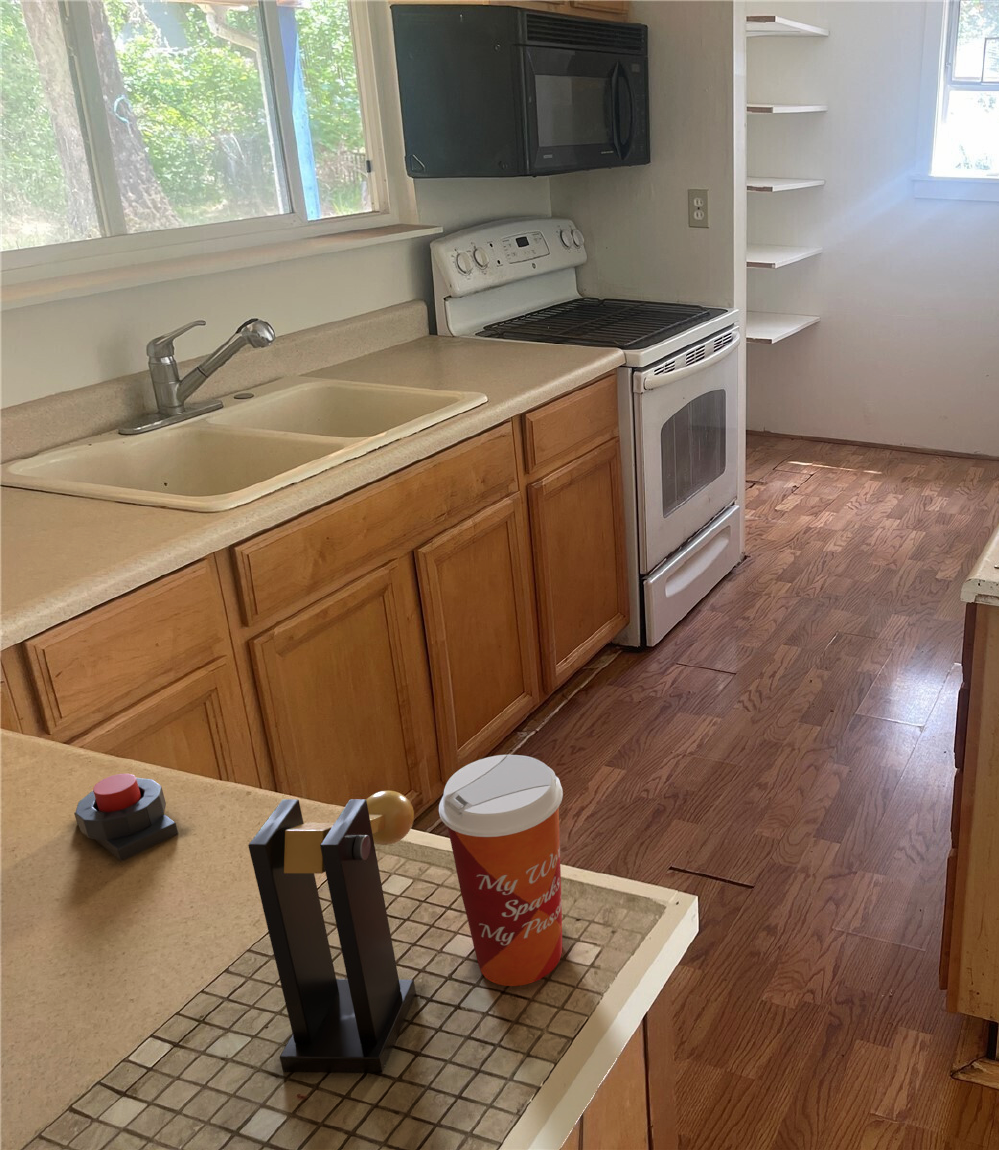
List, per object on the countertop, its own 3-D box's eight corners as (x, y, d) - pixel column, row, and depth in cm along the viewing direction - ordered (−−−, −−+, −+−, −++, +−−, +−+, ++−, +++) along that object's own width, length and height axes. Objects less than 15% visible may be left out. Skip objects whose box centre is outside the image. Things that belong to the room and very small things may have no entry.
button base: (67, 829, 87) (57, 798, 86) (142, 796, 91) (134, 765, 90) (111, 867, 82) (101, 835, 81) (188, 830, 87) (180, 799, 86)
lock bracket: (325, 993, 70) (281, 789, 64) (416, 994, 70) (381, 789, 64) (282, 1073, 64) (229, 856, 58) (382, 1074, 64) (339, 856, 58)
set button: (91, 804, 86) (86, 785, 85) (130, 787, 88) (125, 769, 87) (108, 817, 84) (102, 799, 83) (147, 800, 86) (142, 781, 85)
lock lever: (369, 839, 74) (370, 787, 75) (420, 840, 74) (422, 787, 75) (270, 884, 60) (272, 819, 61) (334, 884, 60) (336, 819, 60)
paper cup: (501, 1018, 68) (476, 834, 63) (441, 957, 73) (413, 782, 68) (602, 956, 73) (587, 781, 68) (539, 903, 78) (520, 736, 73)
